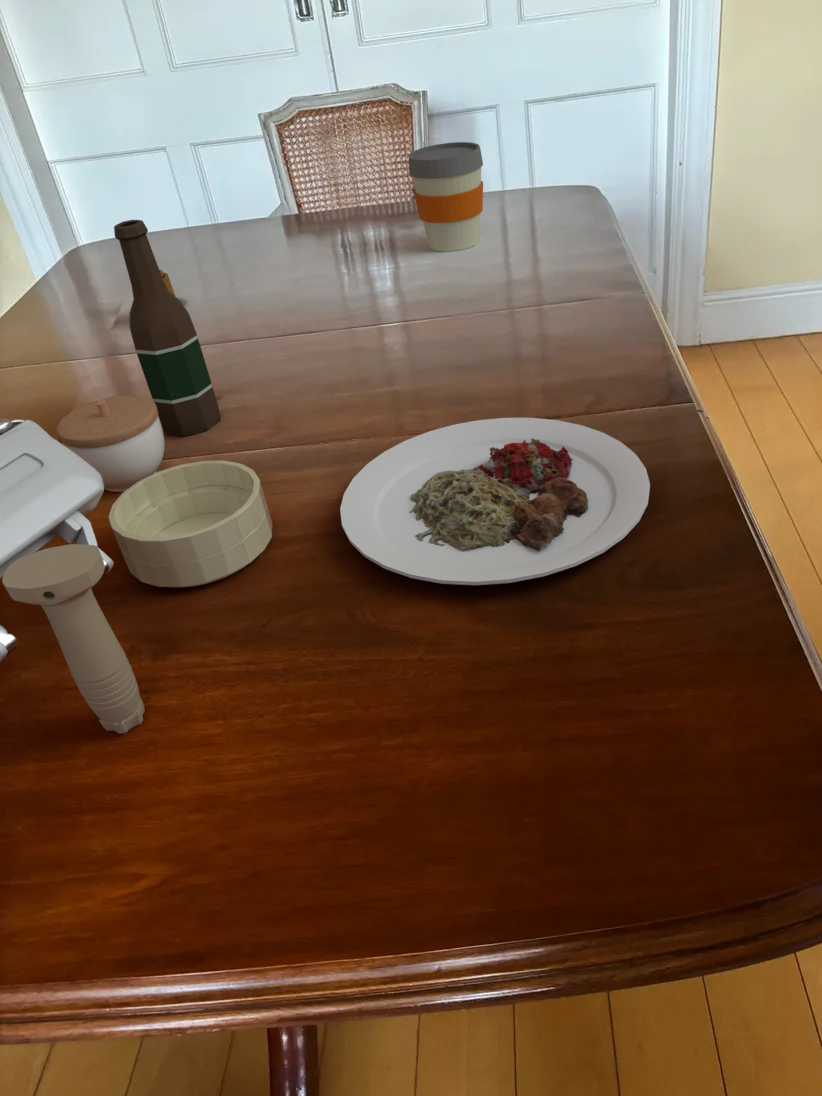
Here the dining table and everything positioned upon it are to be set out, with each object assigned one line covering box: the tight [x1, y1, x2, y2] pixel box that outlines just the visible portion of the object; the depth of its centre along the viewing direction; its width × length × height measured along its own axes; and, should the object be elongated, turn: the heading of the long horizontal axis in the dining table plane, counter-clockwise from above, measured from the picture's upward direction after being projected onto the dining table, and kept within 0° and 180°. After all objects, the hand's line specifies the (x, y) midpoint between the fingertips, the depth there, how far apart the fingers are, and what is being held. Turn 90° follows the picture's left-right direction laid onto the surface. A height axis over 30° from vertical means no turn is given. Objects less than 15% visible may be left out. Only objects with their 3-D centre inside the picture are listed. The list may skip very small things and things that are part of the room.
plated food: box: [339, 417, 651, 586], centre depth 87 cm, size 30×30×3 cm
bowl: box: [107, 460, 274, 588], centre depth 86 cm, size 14×14×6 cm
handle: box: [2, 543, 146, 735], centre depth 65 cm, size 5×6×15 cm
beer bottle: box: [113, 219, 222, 437], centre depth 105 cm, size 8×8×24 cm
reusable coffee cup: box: [408, 141, 484, 252], centre depth 154 cm, size 13×13×15 cm
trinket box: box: [56, 394, 166, 493], centre depth 99 cm, size 11×11×9 cm
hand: (59, 611), depth 64 cm, fingers open, 8 cm apart
